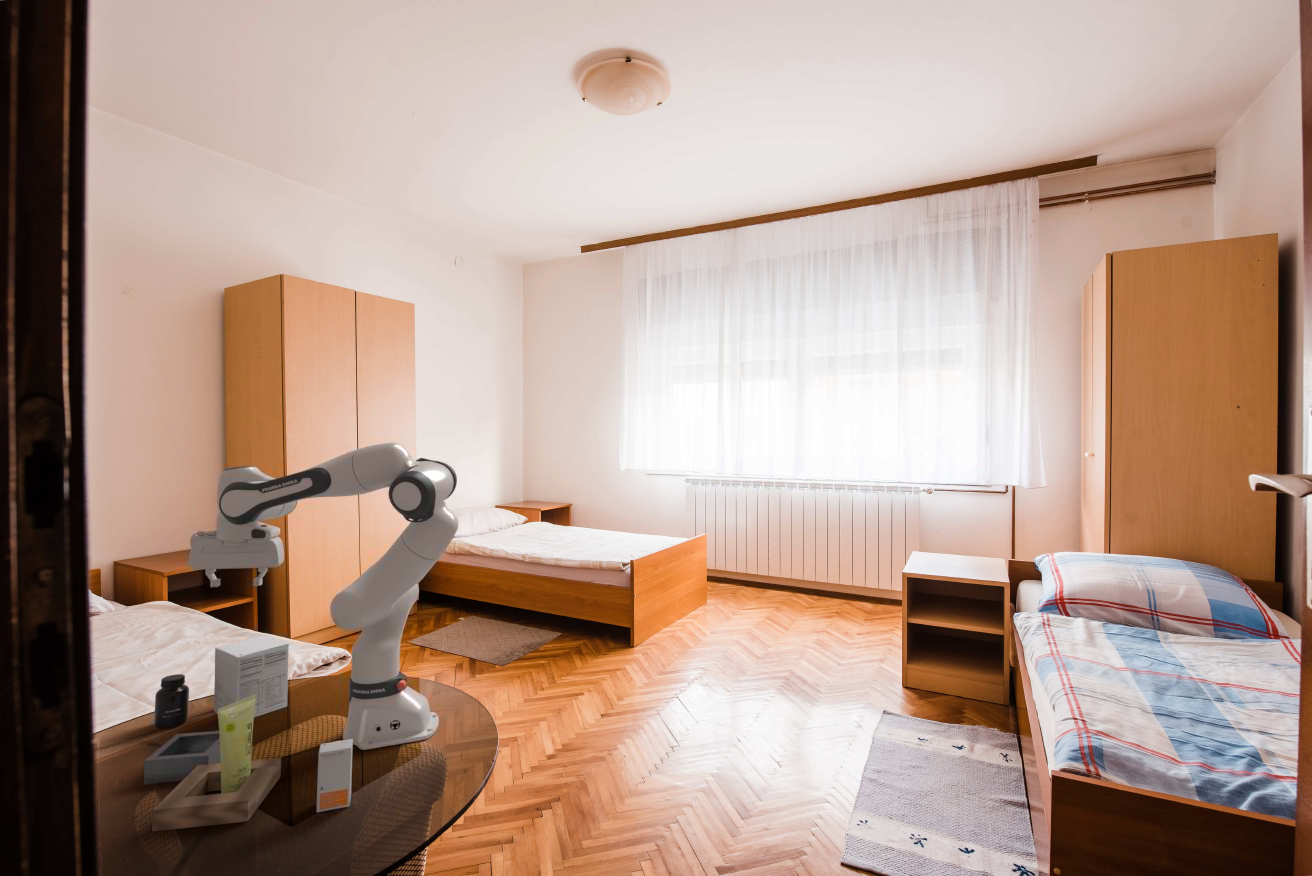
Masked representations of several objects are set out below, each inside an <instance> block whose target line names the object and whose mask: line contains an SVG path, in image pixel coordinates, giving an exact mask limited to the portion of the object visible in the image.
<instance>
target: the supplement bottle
mask: <svg viewBox="0 0 1312 876" xmlns="http://www.w3.org/2000/svg"><path fill="white" fill-rule="evenodd" d="M185 679H186V676H185V674H183V673H182V674H179V673H178V674H171V675H166V676H164V677H162V678H161V681H160V687H161V688H160V689H158V690H157V691H156V693H155V696H154V697H155V699H154V700H155V701H154V718H153V719H154V720H153V721H154V722H153V726H154V728H155V729H158V730H170V729H174V728H177V727H180V726H182V725H184V724H186V723H187V721H188V718H189V703H190V702H189V701H190V700H189V699H190V687H189V686H188V685H186V684H185V683H186V681H185Z"/></svg>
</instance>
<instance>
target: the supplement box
mask: <svg viewBox="0 0 1312 876" xmlns="http://www.w3.org/2000/svg"><path fill="white" fill-rule="evenodd" d="M289 645H290V644H289V643H287V642H285V641H282V640H279V639H276V638H274V637H271V636H268V635H262V636H259V637H258V636H257V637H254V638H250V639H246V640H241V641H237V642H233V643H229V644H224V645H221V646H217V647H214V690H213V691H214V692H213V693H214V695H213V696H214V699H213V702H214V703H213V712H214V713H215V714H217V715H218V713H217V711H218V709H219V708H222V707H225V706H227V705H230V704H233V703H235V702H238V701H241V700H243V699H246V698H249V697H251V696H254V695H256V701H255V709H254V718H257V717H260V716H263V715H266V714H268V713H272V712H275V711H277V710H280V709H284V708H287V707H288V687H289V686H288V681H289V678H288V677H289Z"/></svg>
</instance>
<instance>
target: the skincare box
mask: <svg viewBox="0 0 1312 876" xmlns="http://www.w3.org/2000/svg"><path fill="white" fill-rule="evenodd" d="M353 746H354V745H353V739H349V740H344V739H342V740H336V741H335V740H334V741H332V742H326V743H320V744H319V750H318V758H317V759H318V762H317V783H316V784H317V786H316V788H317V789H316V813H321V812H326V811H330V810H331V811H332V810H336V809H342V808H348V807H350V804H351V799H352V797H351V796H352V771H353Z"/></svg>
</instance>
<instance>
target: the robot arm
mask: <svg viewBox="0 0 1312 876" xmlns="http://www.w3.org/2000/svg"><path fill="white" fill-rule="evenodd" d="M455 471H456V470H455V469H454V468H453V467H452V466H451V465H449V464H448V463H446V462H443V461H440V460H433V459H428V458H424V457H419V458H417V459H416V460H414V459H413V458H412V456H411V453H410V452H409V450H408V449H407V448H406V447H405V446H404V445H403V444H401V443H398V442H385V443H378V444H373V445H369V446H364V447H361V448H357V449H355V450H351V451H348V452H346V453H344V454H341V455H338V456H337V457H334V458H332V459H329V460H327V461H324V462H322V463H319V464H317V465H314V466H313V467H310V468H309V467H308V469H305V470H302V471H298V472H295V473H292V474H288V475H285V476H282V477H281V476H280V477H277V478H275V477H272V476H270V475H267V474H266V473H264V472H262V471H261V470H260V469H259V468H258V467H257V466H254V465H243V466H235V467H229V468H226V469H224V470H223V471H222V472H221V474H220V475H219V477H218V478H219V479H218V483H217V492H216V493H217V494H216V496H217V497H216V504H217V507H218V513H217V516H216V526H215V527H216V528H215V530H210V531H209V530H208V531H203V530H201V531H197V532H196V533H193V534H192V535H191V537H190V539H189V540H190V541H189V543H190V544H189V546H190V551H189V557H188V567H189V568H190V569H191V570H205V572H204V573H205V575H206V576H207V578H208V579H209V581H210V588H218V587H220V586H221V582H222V581H221V578H217V576H216V574H215V572H217V570H221V569H222V570H223V569H227V570H229V569H257V572H258V573H259V574H258V575H257V577H255V578H253V580H252V586H254V587H255V586H256V587H257V586H262V585H263V580H264V579H263V577H265V575H266V573H267V572H268V571H269V568H278V567H280V566H281V565H282V564H283V563H284V562H285V550H284V548H285V547H284V544H283V539H281V538H280V537H279V535H280V534H281V528H280V527H278V526H275V525H271V524H268V523H264V522H261V521H265V520H266V521H267V520H272V519H276V518H277V519H278V518H281V517H285V516H287V515H289V514H290V515H291V513H293V511H294V510H295V509H296V507H297V504H298V501H301V500H306V499H312V498H338V497H351V496H358V495H359V496H360V495H364V494H369V493H373V492H376V491H379V490H381V489H385V488H388V498H389V502H390V503H391V505H392V507H393V508H394V509H395V510H396V512H398V513H399V514H401V515H402V516H403V518H404V519H405V520H406V521H407V522H409V523H408V525H407V526H406V528H404V530H403V531H402V532H401V534H400V535H399V536H398V537H397V538H396V539H395V541H394V542H393V543H392V545H391V546H390V547H389V548H388V549H387V551H386V552H385V553H384V554H383V555H382V556H381V557H380V558H379V559H378V560H376V562H375V563H373V565H371V566H370V567H368V568H367V569H366V570H365V572H363V573H362V574H361V575H359V576H358V577H357V579H355V580H354V581H353V582H352V583H350V585H348V586H347V587H345V588H343V589H342V590H341V591H340V592H338V593H337V594H336V595H335V596H334V597H333V598H332V600H331V602H330V607H329V612H330V617H331V619H332V620H331V621H332V622H333V623H334V625H335V626H336V627H338V628H339V629H341V630H343V631H356V630H362V631H361V632H360V635H359V636H358V638H357V639H356V641H355V642H354V643H353V646H352V649H351V677H350V678H349V681H348V682H349V683H348V702H349V707H348V714H347V720H346V724H345V727H344V731H343V733H342V740H349V739H353V746H356V747H358V749H360V750H363V751H364V750H372V749H377V748H383V747H388V746H396V745H402V744H406V743H407V744H408V743H412V742H413V743H414V742H418V741H423V740H427V739H429V738H430V737H432V736H434V734H435V733H436V732H437V729H439V725H440V719H439V715H438V713H436V712H434V711H431V709H430V704H429V701H428V699H427V697H426V696H425V695H423V694H421V693H419V692H418V691H417V690H415V689H413V688H412V687H409V686H408V672H405V674H404V673H403V672H401V671H400V655H401V654H400V653H401V641H402V638H403V637H402V636H403V632H404V629H405V626H406V622H407V619H408V616H409V613H410V611H411V609H412V608H413V606H414V604H415V603H416V601H417V600H418V597H419V595H420V594H419V593H420V589H419V588H420V587H419V583H420V582H421V581H422V580H423V579H424V577H426V575H427V574H428V573H429V571H431V569H432V568H433V566H434V565H435V564H436V563H437V562H438V560H439V559H440V558H441V556H443V554H444V553H445V551H446V550H447V549H448V547H449V545H450V544H451V542H452V541H453V539H454V537H455V535H456V533H457V531H458V529H459V520H458V518H457V516H456V514H455V513H454V512H453V511H452V510H451V509H449V508H448V506H447V504H446V501H445V500H447V499H448V498H450V497H451V495H452V494H453V493H454V492H455V490H456V487H457V484H458V476H457V473H456V472H455Z"/></svg>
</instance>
